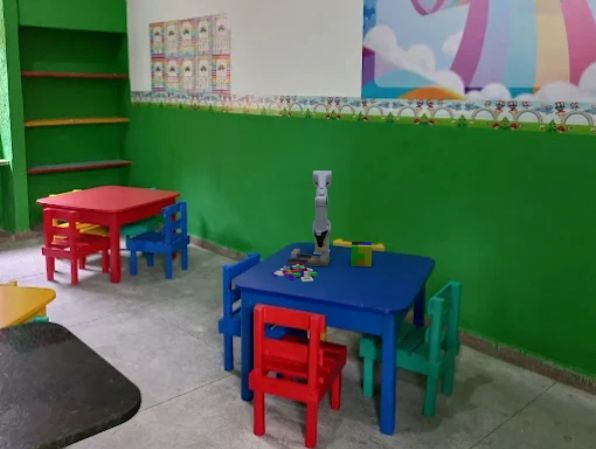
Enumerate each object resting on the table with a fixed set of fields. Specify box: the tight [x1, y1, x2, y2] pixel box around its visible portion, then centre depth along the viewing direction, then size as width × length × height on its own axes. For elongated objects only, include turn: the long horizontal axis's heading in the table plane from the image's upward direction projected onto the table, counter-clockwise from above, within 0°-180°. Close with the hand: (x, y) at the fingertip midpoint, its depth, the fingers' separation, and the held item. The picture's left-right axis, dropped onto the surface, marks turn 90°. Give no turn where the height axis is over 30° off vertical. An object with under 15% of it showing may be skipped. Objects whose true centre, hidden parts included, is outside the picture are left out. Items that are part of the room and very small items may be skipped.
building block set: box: [270, 263, 318, 283], centre depth 295 cm, size 25×20×4 cm
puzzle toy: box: [350, 241, 373, 267], centre depth 311 cm, size 10×10×10 cm
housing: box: [316, 239, 327, 251], centre depth 310 cm, size 4×4×5 cm
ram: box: [290, 248, 301, 259], centre depth 315 cm, size 8×3×4 cm, turn 167°
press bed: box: [286, 250, 332, 268], centre depth 314 cm, size 12×20×6 cm, turn 77°
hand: (321, 245), depth 310 cm, fingers closed on housing, 4 cm apart
